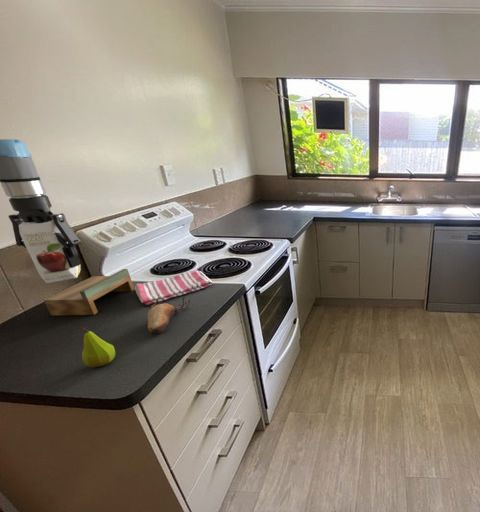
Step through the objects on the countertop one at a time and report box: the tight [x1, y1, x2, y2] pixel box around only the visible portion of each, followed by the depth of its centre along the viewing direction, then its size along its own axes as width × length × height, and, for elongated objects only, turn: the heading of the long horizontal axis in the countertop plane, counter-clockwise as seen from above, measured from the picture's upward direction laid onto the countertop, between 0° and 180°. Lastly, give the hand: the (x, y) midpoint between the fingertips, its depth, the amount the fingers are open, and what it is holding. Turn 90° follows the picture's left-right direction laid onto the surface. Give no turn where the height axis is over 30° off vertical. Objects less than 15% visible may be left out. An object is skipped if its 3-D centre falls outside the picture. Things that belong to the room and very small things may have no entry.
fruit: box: [80, 327, 116, 368], centre depth 74 cm, size 6×6×12 cm
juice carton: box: [19, 221, 81, 284], centre depth 90 cm, size 8×9×19 cm
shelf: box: [43, 268, 135, 316], centre depth 104 cm, size 14×18×9 cm
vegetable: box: [146, 294, 191, 335], centre depth 91 cm, size 16×11×10 cm
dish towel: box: [133, 270, 214, 306], centre depth 114 cm, size 17×23×4 cm
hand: (59, 265), depth 92 cm, fingers closed on juice carton, 9 cm apart
